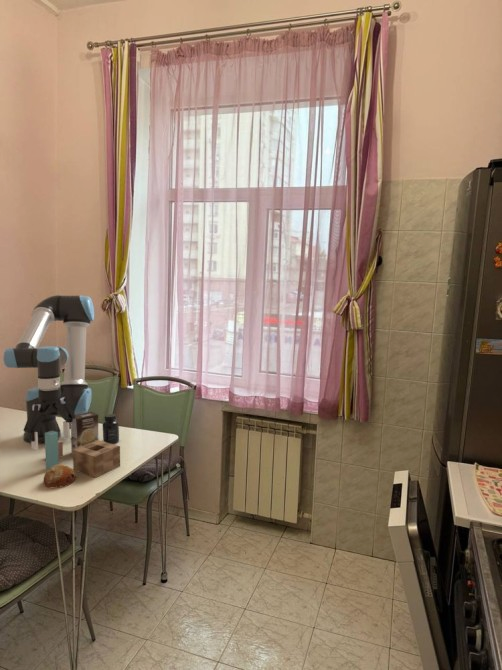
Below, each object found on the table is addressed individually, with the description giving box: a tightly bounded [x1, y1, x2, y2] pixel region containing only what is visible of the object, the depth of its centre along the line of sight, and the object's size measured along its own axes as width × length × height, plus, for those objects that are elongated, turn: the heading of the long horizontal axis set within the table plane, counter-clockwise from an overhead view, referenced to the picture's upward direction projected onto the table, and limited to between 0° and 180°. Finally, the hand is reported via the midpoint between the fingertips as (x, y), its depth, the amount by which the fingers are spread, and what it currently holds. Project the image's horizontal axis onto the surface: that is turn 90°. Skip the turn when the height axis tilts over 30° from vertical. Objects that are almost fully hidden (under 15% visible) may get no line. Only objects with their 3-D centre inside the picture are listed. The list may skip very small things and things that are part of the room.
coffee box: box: [70, 410, 99, 454], centre depth 186 cm, size 9×6×16 cm
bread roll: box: [43, 463, 77, 488], centre depth 160 cm, size 10×10×8 cm
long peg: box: [44, 431, 60, 470], centre depth 170 cm, size 3×3×14 cm
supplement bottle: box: [102, 413, 120, 445], centre depth 198 cm, size 7×7×12 cm
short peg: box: [58, 440, 64, 458], centre depth 182 cm, size 3×3×6 cm
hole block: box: [72, 439, 121, 479], centre depth 172 cm, size 12×12×8 cm
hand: (51, 443), depth 170 cm, fingers open, 13 cm apart
